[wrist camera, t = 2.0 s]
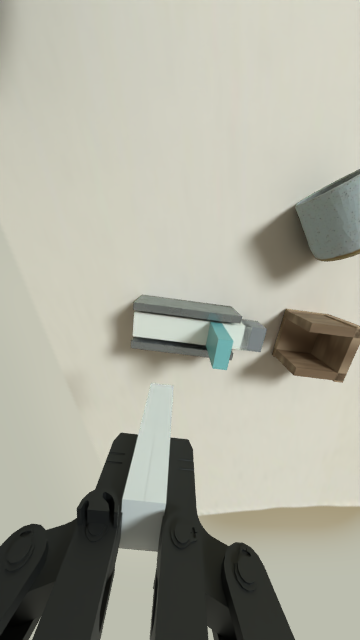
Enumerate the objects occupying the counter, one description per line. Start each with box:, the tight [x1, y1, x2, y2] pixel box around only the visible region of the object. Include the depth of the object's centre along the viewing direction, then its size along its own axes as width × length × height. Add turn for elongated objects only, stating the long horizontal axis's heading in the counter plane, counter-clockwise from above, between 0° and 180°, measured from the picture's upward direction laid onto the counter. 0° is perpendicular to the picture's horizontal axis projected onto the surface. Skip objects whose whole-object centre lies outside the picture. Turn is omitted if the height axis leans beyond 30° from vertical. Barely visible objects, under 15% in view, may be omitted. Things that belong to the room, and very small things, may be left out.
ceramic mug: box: [295, 169, 360, 261], centre depth 23 cm, size 11×8×8 cm
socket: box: [272, 309, 360, 383], centre depth 28 cm, size 8×7×6 cm
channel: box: [131, 295, 242, 360], centre depth 28 cm, size 6×14×6 cm, turn 82°
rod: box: [133, 310, 267, 370], centre depth 25 cm, size 4×18×10 cm, turn 83°
